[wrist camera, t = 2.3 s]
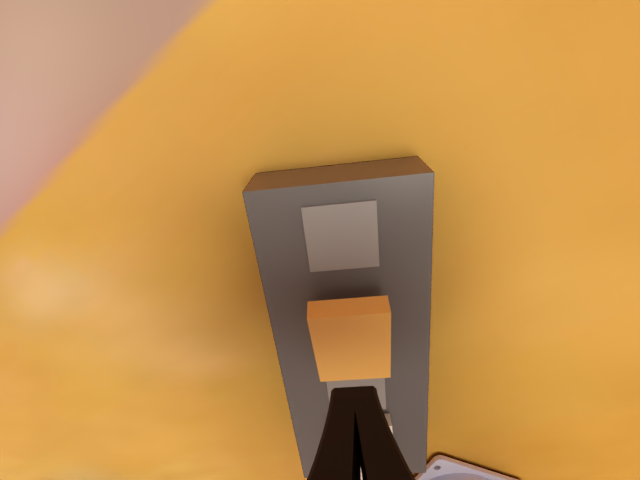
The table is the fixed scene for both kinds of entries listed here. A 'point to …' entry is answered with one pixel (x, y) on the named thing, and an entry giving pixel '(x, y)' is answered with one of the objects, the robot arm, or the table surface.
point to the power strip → (348, 281)
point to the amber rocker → (351, 337)
